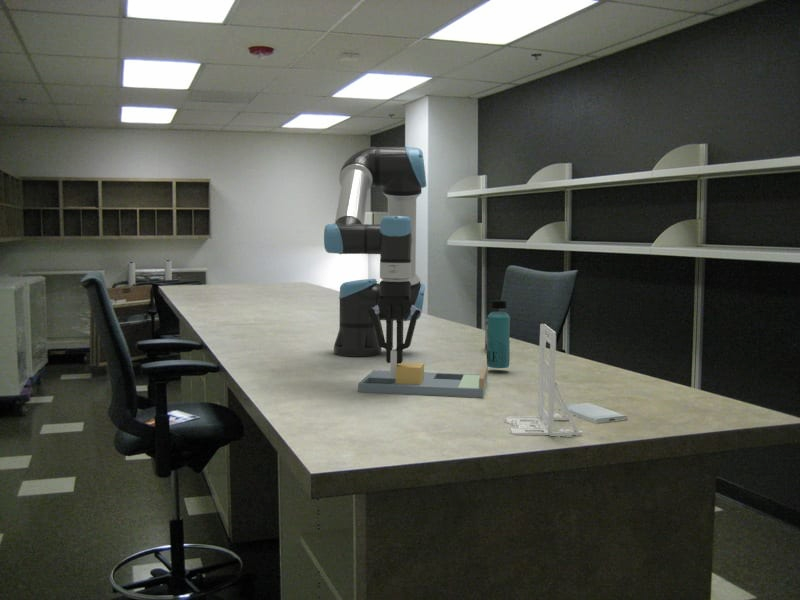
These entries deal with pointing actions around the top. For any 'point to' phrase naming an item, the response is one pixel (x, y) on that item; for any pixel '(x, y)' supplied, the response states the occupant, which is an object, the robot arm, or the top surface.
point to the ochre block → (409, 373)
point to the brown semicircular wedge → (486, 333)
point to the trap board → (428, 384)
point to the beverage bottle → (498, 337)
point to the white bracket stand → (546, 385)
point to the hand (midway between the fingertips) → (394, 376)
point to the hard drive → (594, 413)
